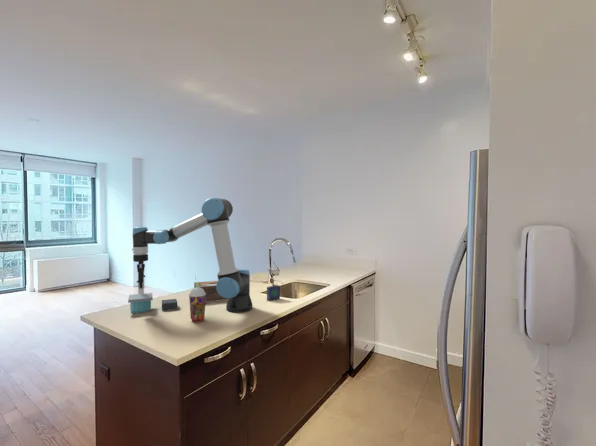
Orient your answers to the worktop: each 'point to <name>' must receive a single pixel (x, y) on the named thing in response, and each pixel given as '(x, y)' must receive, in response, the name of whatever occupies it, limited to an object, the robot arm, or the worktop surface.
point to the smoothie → (197, 304)
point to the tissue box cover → (210, 290)
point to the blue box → (273, 292)
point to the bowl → (140, 306)
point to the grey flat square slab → (140, 297)
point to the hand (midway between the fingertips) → (141, 291)
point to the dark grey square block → (169, 304)
